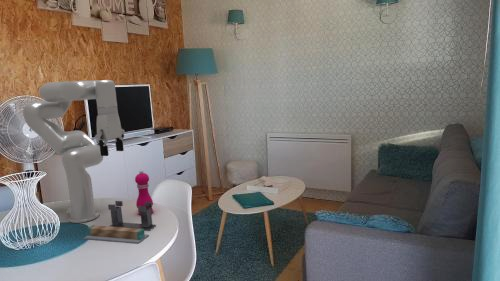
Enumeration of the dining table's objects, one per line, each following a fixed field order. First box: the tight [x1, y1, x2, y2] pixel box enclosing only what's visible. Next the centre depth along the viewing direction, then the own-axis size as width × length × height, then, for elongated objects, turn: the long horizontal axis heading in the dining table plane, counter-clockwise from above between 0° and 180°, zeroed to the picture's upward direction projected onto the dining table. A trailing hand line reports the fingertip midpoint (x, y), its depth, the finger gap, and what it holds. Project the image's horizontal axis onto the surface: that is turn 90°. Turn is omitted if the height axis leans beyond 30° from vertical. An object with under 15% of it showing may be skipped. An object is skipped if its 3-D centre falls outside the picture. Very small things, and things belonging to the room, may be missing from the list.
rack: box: [107, 200, 157, 232], centre depth 155 cm, size 19×5×10 cm, turn 73°
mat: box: [83, 233, 150, 245], centre depth 146 cm, size 24×7×1 cm, turn 73°
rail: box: [87, 224, 146, 240], centre depth 146 cm, size 23×3×3 cm, turn 73°
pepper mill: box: [134, 169, 154, 216], centre depth 171 cm, size 7×7×20 cm
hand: (112, 153), depth 156 cm, fingers open, 9 cm apart
